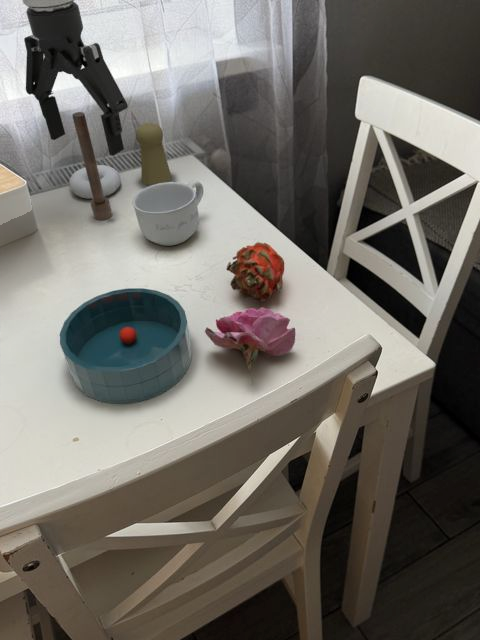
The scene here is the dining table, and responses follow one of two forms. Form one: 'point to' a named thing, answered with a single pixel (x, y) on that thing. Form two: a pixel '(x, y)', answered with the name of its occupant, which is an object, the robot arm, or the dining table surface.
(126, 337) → the red ball
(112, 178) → the donut
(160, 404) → the dining table surface
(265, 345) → the flower
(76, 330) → the bowl
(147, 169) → the olive pawn
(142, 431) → the dining table surface
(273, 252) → the dragon fruit
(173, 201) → the teacup
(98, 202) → the stirring stick
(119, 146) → the robot arm
